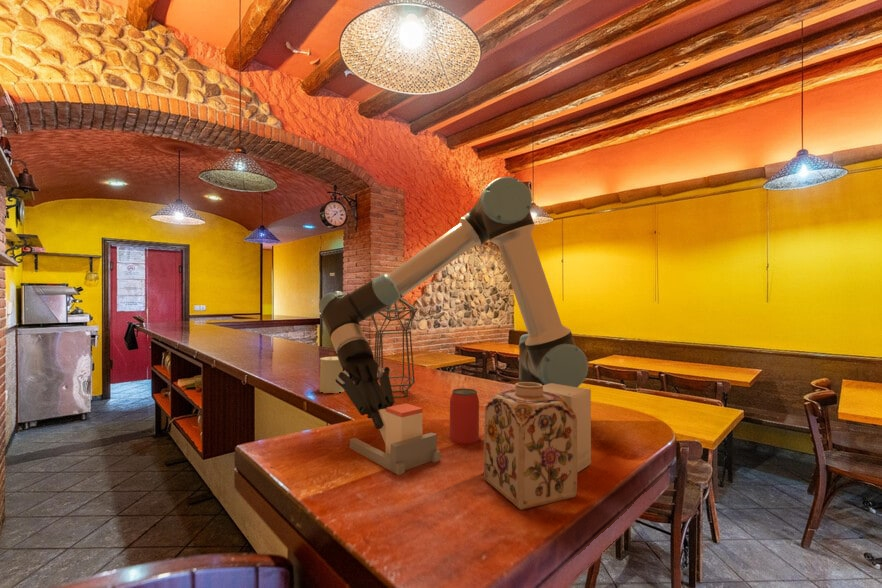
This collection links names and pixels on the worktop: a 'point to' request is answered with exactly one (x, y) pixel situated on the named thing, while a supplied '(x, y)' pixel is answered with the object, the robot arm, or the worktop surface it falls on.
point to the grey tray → (401, 452)
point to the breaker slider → (402, 423)
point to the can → (330, 375)
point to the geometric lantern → (403, 340)
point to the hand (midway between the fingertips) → (391, 441)
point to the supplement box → (582, 408)
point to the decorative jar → (530, 446)
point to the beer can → (464, 416)
